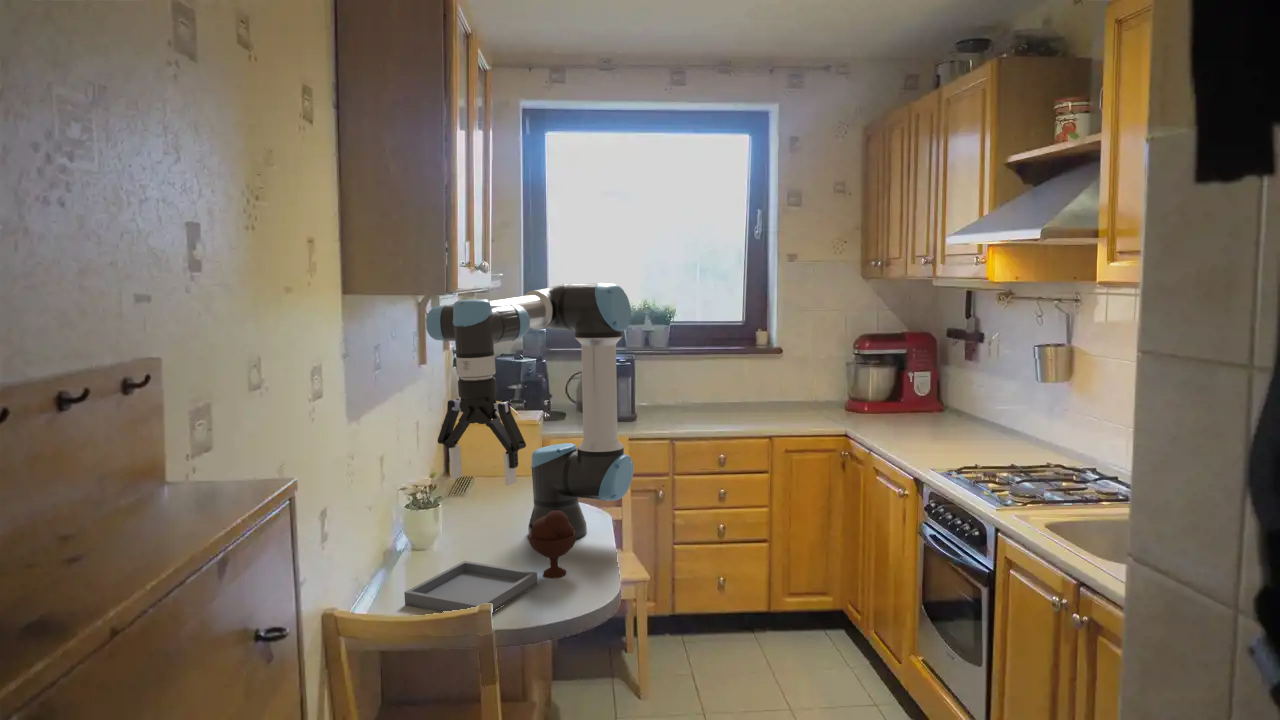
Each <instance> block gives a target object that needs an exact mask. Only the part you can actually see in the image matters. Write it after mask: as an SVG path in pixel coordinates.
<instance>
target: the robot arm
mask: <svg viewBox="0 0 1280 720" xmlns="http://www.w3.org/2000/svg"><path fill="white" fill-rule="evenodd" d="M631 309H632V308H631V303H630V300H629V298H628V295H627V293H626V292H625V290H624V289H623V288H622V287H621V286H620V285H618V284H615V283H608V282H607V283H605V282H599V283H596V282H595V283H562V284H556V285H553V286H549V287H544V288H541V289H535V290H529V291H527V292H526V293H525V294H524V295H523V296H514V297H508V298H500V299H493V300H489V299H487V298H476V299H474V298H472V299H461V300H457V301H455V302H454V304H453V305H446V304H445V305H444V304H443V305H438V306H434V307H432V308H431V309H429V311H428V313H427V315H426V318H425V323H426V325H425V329H426V331H427V333H428V335H429V336H430V338H432V339H433V340H435V341H443V342H455V343H454V345H455V356H456V357H455V358H456V359H455V361H456V374H457V376H458V377H459V379H458V380H457V393H458V397H459V398H454V399H451V400H448V401H447V410H446V414H445V416H444V419H443V423H442V426H441V429H440V432H439V435H438V437H437V443H438V444H439V445H444V446H445V448H446V457H447V458H446V460H447V463H449V468H450V470H449V471H450V479H451V480H457V479H459V478H461V477H463V468H462V466H463V465H462V452H461V445H459V441H460V439H461V438H462V437H463V435H464V433H465V431H467V429H468V428H469V426H470V425H471V424H479V425H485V426H486V427H488V428H489V429H490V430H491V431H492V433H493V434H494V435H495V437H496V438H497V440H498V441H499V442H500V444H501V446H502V447H503V448H504V449H505V451H506V452H503V465H504V468H503V469H504V482H505V483H504V484H505V486H511V485H513V484H515V483H517V467H519V454H518V453H519V451H520V450H522V449H525V448H526V447H527V444H526V443H527V442H526V441H525V439H524V437H523V435H522V433H521V430H520V428H519V426H518V424H517V422H516V420H515V418H514V415H513V414H512V409H511V403H510V401H504V402H497V401H496V400H497V399H496V396H497V391H498V390H497V379H496V378H495V375H496V372H497V371H496V357H495V348H494V344H500V343H505V342H510V341H511V342H514V341H516V340H519V339H522V338H523V337H525V336H526V335H527V333H528V332H529V330H530V328H531V329H533V330H543V329H552V330H562V331H563V330H564V331H574V339H575V340H576V341H577V342H579V344H580V345H581V348H580V349H581V383H582V385H581V386H582V388H581V389H582V391H581V392H582V433H583V435H582V436H583V437H582V439H583V440H581V443H579V445H578V446H577V445H576V444H575V443H572V442H571V443H570V442H565V443H556V444H550V445H548V446H547V445H546V446H542V447H539V448H537V449H536V450H534V451H533V452H532V454H531V467H530V469H531V477H532V494H533V495H532V496H533V497H532V499H533V508H532V511H531V515H530V518H529V522H528V527H527V528H528V529H527V530H528V533H527V534H528V535H529V534H530V532H532V527H533V525H534V523H535V521H536V520H537V519H539V518H541V517H544V516H546V515H547V514H548V513H549V512H550V511H555V510H559V511H562V512H563V513H564V514H566V516H567V517H568V521H569V523H570V524H571V525H572V526H573V528H574V530H576V538H575V540H576V539H579V538H582V537H584V536H585V535H586V534H587V531H588V529H587V521H586V519H585V517H584V514H583V513H584V512H583V511H582V508H581V505H580V501H579V499H580V498H581V499H589V500H598V501H601V502H602V501H603V502H604V501H612V502H616V501H619V500H621V499H622V498H623V497H625V495H626V494H627V492H628V491H629V488H630V487H631V484H632V481H633V477H634V462H633V461H632V460H633V459H632V457H630V455H628V454H625V449H624V447H625V446H624V444H623V443H622V442H621V441H620V440H619V439H618V438H619V436H618V435H619V434H618V392H617V391H618V390H617V389H618V388H617V387H618V385H617V379H618V377H617V344H618V342H619V341H620V340H621V339H622V338H623V333H622V332H623V331H626V329H628V327H629V326H630V321H631V318H632V310H631ZM460 411H461V412H462V414H461V415H460V417H459V419H458V416H459V414H460ZM457 419H458V422H457ZM456 422H457V424H456Z"/></svg>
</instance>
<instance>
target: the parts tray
mask: <svg viewBox="0 0 1280 720" xmlns="http://www.w3.org/2000/svg"><path fill="white" fill-rule="evenodd" d="M536 586H538V572H535V571H528V570H524V569H518V568H511V567H504V566H500V565H499V566H498V565H492V564H485V563H480V562H472V561H467V560H463V561H462V562H459V563H458V564H456V565H454V566H452V567H450V568H449V569H446V570H445V571H442V572H440V573H438V574H436V575H434V576H433V577H431V578H429V579H427V580H424V581H423V582H422V583H419V584H417V585H415V586H413V587H412V588H409V589H407V590H406V591H404V603H405V604H404V605H405V606H409V607H413V608H417V609H418V608H419V609H424V610H428V611H433V612H440V613H444V612H443V611H452V610H460V609H467V608H471V607H476V606H478V605H480V604H483V603H492V604H493V612H494V611H495V610H496V609H498V608H500V607H501V606H503V605H505V604H506V605H508V604H509V603H508V602H510V601H511V602H513V601H514V600H516V599H517V597H518V598H520V595H521V596H523V595H524V594H526V593H527V592H529V591H530V590H532V589H534V588H535V587H536ZM531 588H532V589H531ZM528 590H529V591H528ZM526 591H527V592H526ZM523 593H524V594H523ZM515 598H516V599H515ZM513 599H514V600H513ZM512 600H513V601H512ZM511 602H510V603H511ZM507 603H508V604H507ZM506 605H505V606H506ZM503 607H504V606H503ZM500 609H501V608H500ZM495 612H496V611H495ZM495 612H494V613H495Z"/></svg>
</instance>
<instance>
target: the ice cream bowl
mask: <svg viewBox="0 0 1280 720" xmlns="http://www.w3.org/2000/svg"><path fill="white" fill-rule="evenodd" d="M575 538H576V530H574V528H573V526H572V525H571V524H570V523H569V521H568V517H567V516H566V514H564V513H563V512H562V511H559V510H555V511H550V512H549V513H548V514H547V515H546V516H544V517H541V518H539V519H537V520H536V521H535V523H534V525H533V527H532V532H530V534H529V533H528V540H529V541H528V542H529V545H530V546H531V548H532V549H533V550H534V551H535V552H536V553H538V554H539V555H541V556H543V557H545V558H548V559H549V561H550V564H549V565H550V566H549V567H548V568H546V569H545V570H543V574H542V577H543V578H545V579H559V578H562V577H564V576H565V577H566V576H567V570H566V569H565V568H562V567H561V566H559V561H558V560H559V558H560V557H562V556H565V555H566V554H567V553H568V552H569V551H570V550H571V549H572V548H573V547H574V545H575V543H576V539H575Z"/></svg>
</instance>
